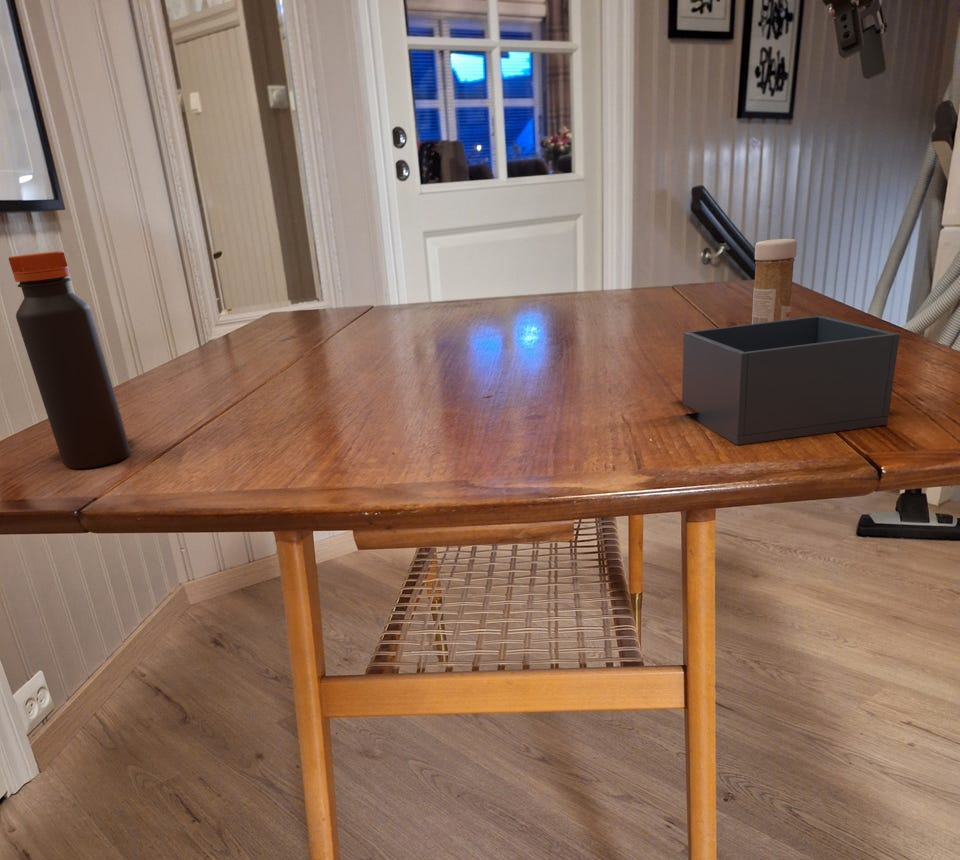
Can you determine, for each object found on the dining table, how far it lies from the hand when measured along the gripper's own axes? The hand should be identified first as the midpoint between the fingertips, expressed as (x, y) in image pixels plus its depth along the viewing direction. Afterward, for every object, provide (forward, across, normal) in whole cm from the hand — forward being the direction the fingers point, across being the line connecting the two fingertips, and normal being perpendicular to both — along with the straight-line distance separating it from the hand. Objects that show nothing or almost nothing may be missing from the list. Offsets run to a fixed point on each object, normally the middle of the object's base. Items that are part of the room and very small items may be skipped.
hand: (864, 65), depth 89 cm
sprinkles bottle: (+26, +4, +16) cm, 31 cm away
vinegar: (+22, -57, +66) cm, 90 cm away
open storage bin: (+34, -21, +7) cm, 40 cm away
